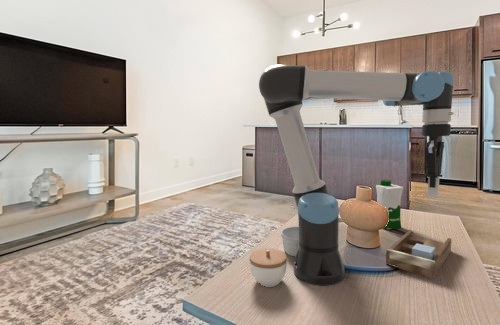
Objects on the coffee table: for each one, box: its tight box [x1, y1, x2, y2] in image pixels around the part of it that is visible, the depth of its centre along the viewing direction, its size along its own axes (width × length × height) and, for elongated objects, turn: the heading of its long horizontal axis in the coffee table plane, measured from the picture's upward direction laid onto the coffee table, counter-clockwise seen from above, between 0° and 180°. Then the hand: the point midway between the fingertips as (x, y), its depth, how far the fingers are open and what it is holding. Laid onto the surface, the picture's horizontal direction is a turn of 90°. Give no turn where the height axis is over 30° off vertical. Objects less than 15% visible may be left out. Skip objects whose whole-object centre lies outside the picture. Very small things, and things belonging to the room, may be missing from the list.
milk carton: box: [375, 179, 404, 230], centre depth 122 cm, size 9×9×20 cm
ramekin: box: [280, 226, 299, 257], centre depth 102 cm, size 13×13×7 cm
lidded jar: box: [249, 248, 288, 288], centre depth 82 cm, size 11×11×9 cm
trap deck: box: [385, 229, 452, 279], centre depth 93 cm, size 13×24×5 cm, turn 135°
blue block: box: [412, 243, 435, 260], centre depth 86 cm, size 5×5×4 cm
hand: (432, 196), depth 92 cm, fingers closed
